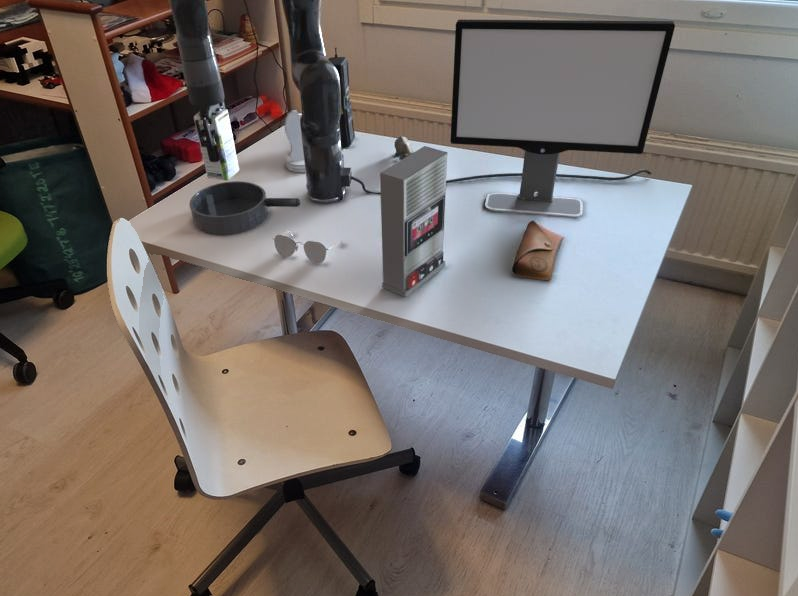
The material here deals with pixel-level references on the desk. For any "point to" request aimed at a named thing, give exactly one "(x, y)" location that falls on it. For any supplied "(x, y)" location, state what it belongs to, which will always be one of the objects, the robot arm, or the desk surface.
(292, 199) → the pan handle
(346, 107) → the portable radio
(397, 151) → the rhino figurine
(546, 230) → the sunglasses case
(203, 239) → the desk surface
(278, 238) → the sunglasses
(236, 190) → the pan
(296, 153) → the chess piece
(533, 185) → the computer monitor
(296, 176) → the desk surface
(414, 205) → the cassette tape recorder
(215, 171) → the syrup box
